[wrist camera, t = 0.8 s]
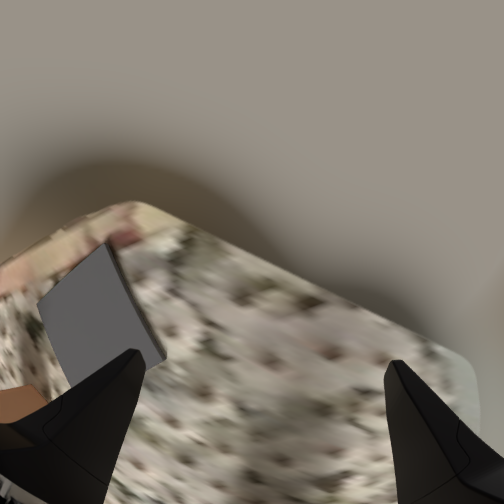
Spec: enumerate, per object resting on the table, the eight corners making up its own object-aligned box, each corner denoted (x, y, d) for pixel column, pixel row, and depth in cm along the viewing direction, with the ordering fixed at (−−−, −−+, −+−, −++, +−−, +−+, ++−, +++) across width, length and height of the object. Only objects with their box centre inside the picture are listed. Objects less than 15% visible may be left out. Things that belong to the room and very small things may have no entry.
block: (53, 409, 24) (-21, 432, 11) (49, 432, 24) (-18, 457, 11) (31, 384, 25) (-42, 397, 12) (27, 408, 24) (-39, 425, 12)
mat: (166, 359, 24) (162, 360, 23) (85, 403, 24) (80, 405, 23) (108, 244, 26) (104, 243, 26) (40, 304, 26) (36, 304, 26)
